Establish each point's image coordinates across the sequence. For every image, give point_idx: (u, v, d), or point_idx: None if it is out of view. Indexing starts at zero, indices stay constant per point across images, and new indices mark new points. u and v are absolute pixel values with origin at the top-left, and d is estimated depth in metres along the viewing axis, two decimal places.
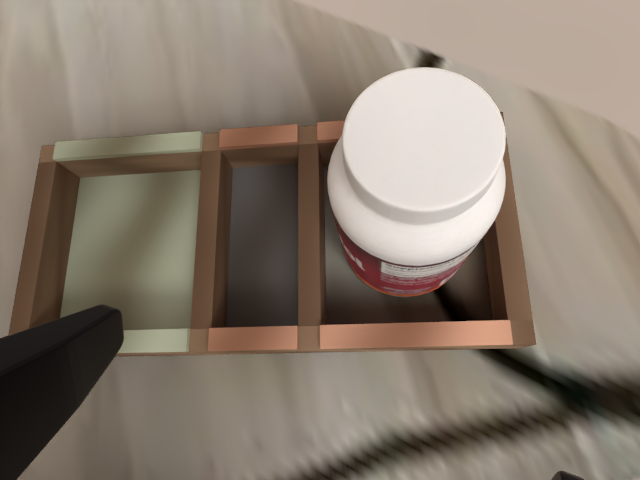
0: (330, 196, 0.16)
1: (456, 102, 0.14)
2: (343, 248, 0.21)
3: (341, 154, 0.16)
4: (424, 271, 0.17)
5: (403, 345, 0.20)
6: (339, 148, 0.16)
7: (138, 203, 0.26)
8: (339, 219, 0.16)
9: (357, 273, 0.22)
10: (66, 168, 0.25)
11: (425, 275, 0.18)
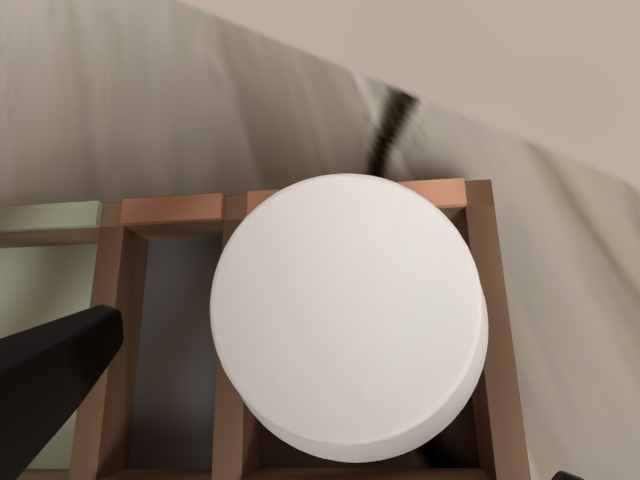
0: None
1: (400, 239, 0.08)
2: None
3: None
4: None
5: None
6: None
7: (28, 286, 0.20)
8: None
9: None
10: None
11: None
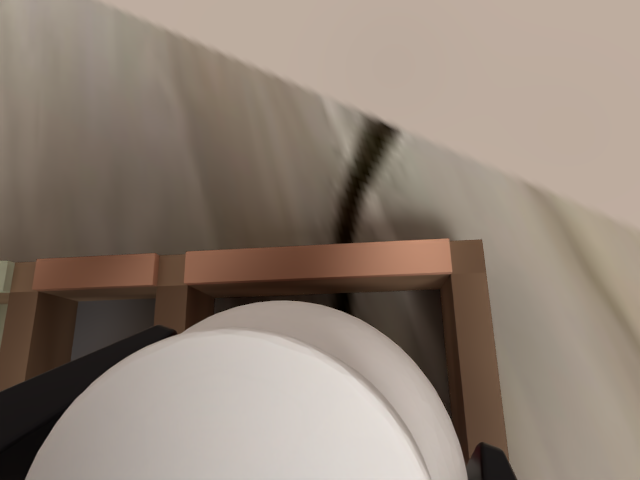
0: None
1: (315, 453, 0.05)
2: None
3: None
4: None
5: None
6: None
7: None
8: None
9: None
10: None
11: None
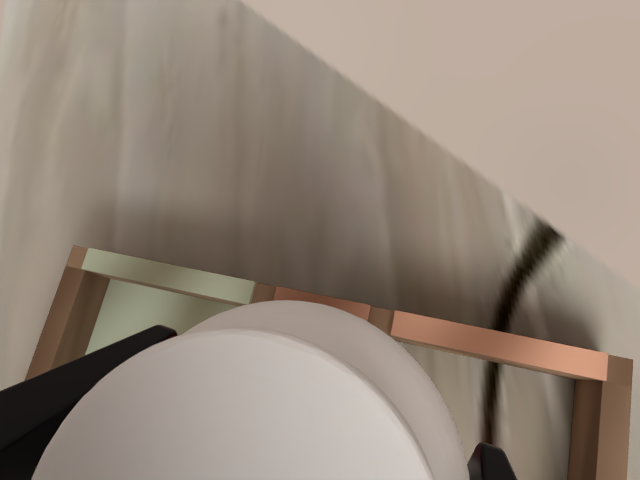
0: None
1: (320, 453, 0.05)
2: None
3: None
4: None
5: None
6: None
7: None
8: None
9: None
10: (95, 274, 0.22)
11: None
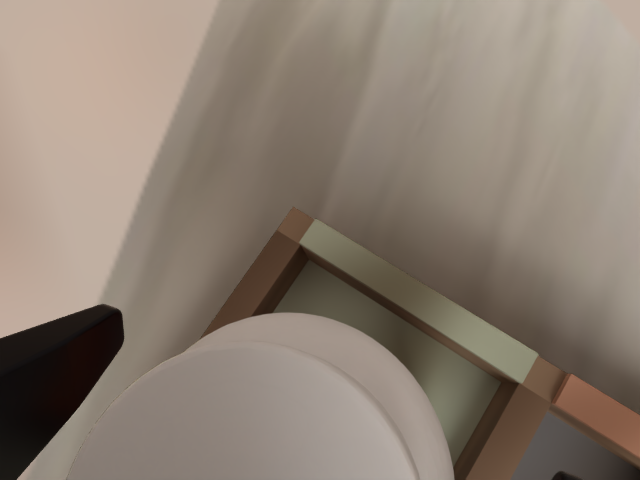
0: None
1: (319, 450, 0.06)
2: None
3: None
4: None
5: None
6: None
7: None
8: None
9: None
10: (304, 251, 0.17)
11: None
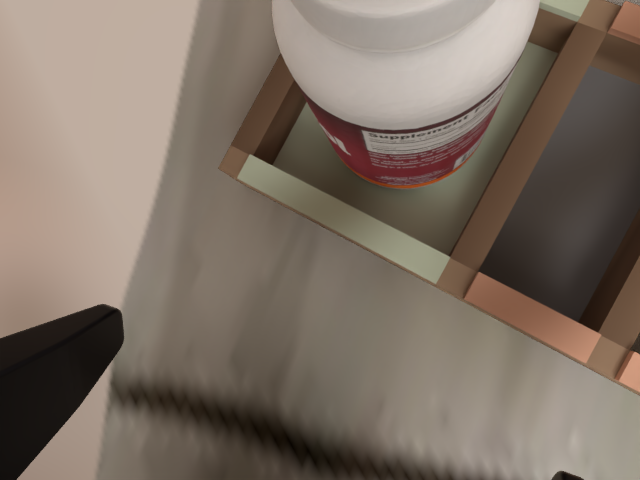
0: (277, 39, 0.11)
1: None
2: (324, 131, 0.16)
3: None
4: (425, 139, 0.12)
5: None
6: None
7: None
8: (293, 72, 0.11)
9: (347, 164, 0.17)
10: None
11: (429, 148, 0.13)
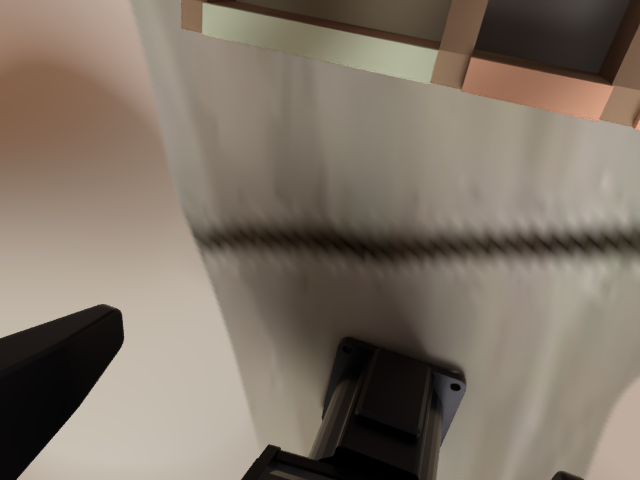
0: None
1: None
2: None
3: None
4: None
5: None
6: None
7: None
8: None
9: None
10: None
11: None
